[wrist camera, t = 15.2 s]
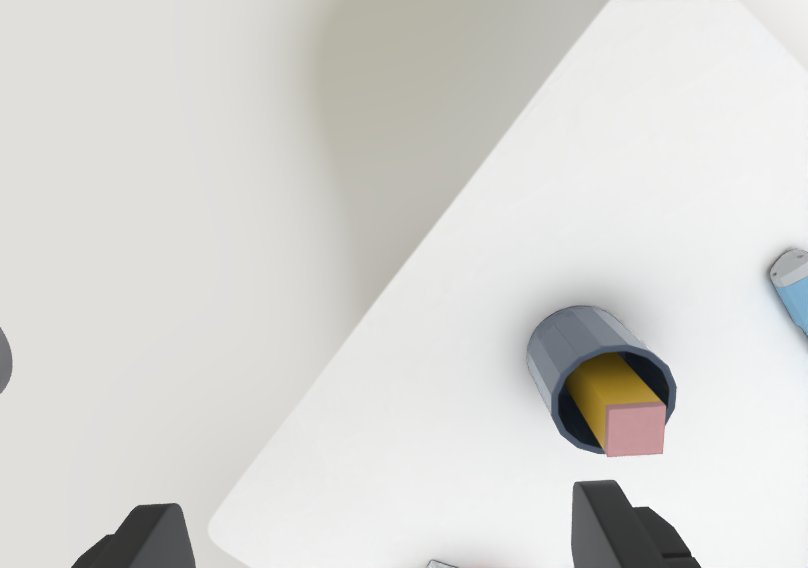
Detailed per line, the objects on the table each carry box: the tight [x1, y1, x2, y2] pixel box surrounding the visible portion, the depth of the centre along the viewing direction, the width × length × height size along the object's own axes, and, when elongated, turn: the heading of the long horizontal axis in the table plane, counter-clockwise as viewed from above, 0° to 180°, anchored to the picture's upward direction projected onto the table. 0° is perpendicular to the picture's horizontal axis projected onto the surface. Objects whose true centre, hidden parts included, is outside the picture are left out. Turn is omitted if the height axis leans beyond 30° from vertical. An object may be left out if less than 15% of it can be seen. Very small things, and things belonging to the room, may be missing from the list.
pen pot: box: [527, 306, 677, 454], centre depth 37 cm, size 9×9×8 cm
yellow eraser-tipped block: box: [564, 352, 666, 457], centre depth 35 cm, size 4×4×11 cm
